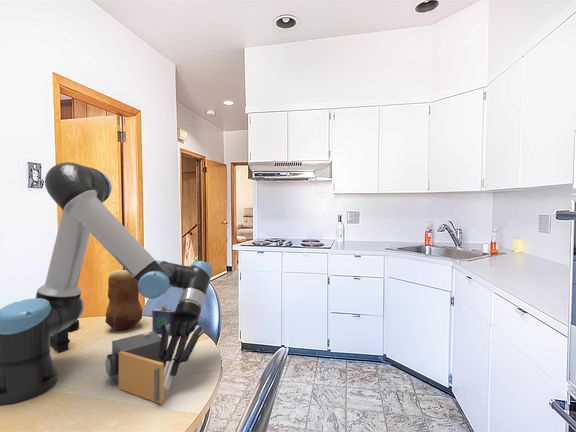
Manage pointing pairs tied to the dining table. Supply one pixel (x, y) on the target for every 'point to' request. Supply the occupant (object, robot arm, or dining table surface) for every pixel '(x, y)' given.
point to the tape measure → (74, 326)
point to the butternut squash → (123, 301)
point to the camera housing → (133, 350)
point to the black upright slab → (60, 341)
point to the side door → (141, 376)
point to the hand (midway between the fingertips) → (163, 388)
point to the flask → (161, 319)
